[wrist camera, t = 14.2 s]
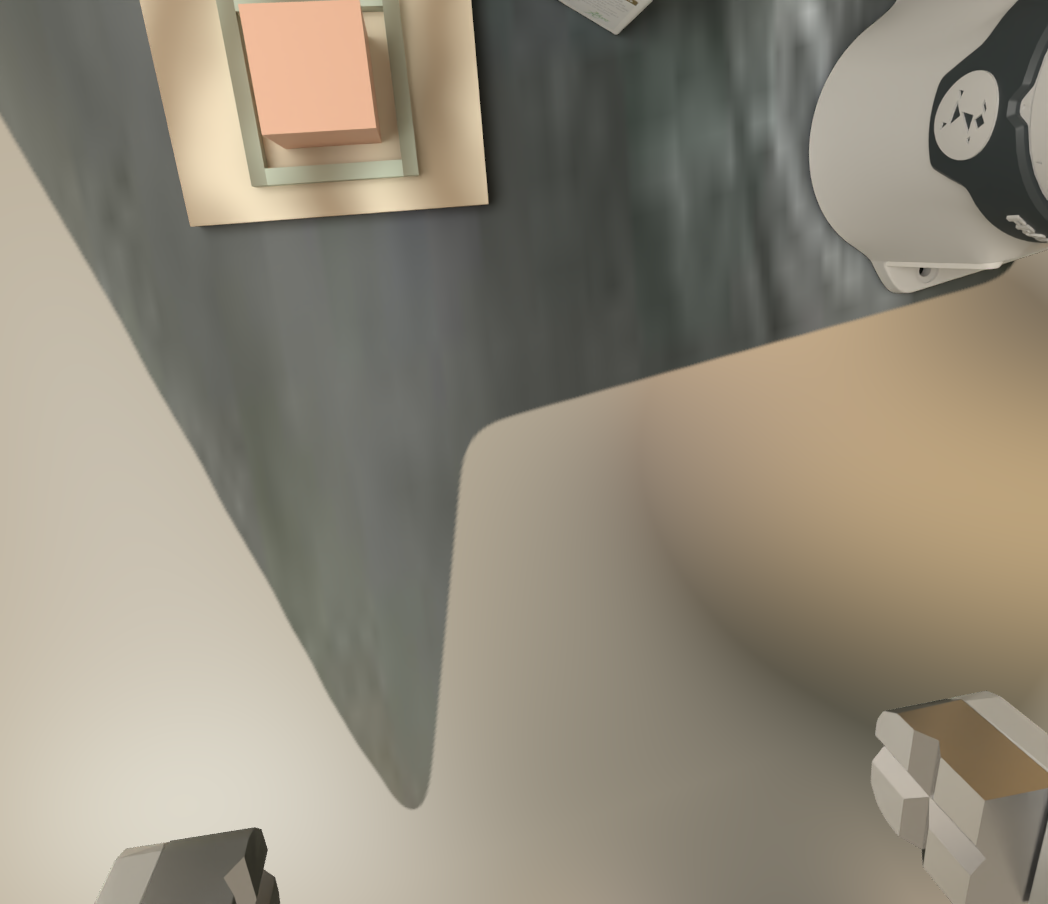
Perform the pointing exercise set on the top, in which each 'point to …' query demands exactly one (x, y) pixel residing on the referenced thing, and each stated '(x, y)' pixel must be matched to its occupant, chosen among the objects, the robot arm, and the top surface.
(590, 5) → the syrup box
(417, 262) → the top surface
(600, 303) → the top surface
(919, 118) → the robot arm
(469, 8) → the build board
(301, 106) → the block
